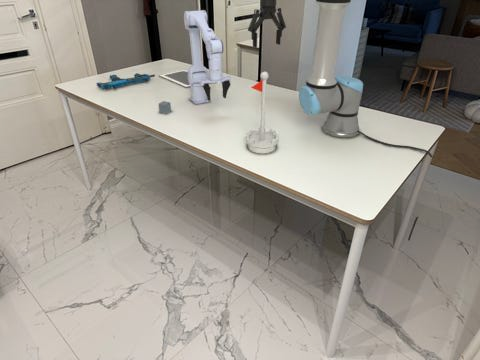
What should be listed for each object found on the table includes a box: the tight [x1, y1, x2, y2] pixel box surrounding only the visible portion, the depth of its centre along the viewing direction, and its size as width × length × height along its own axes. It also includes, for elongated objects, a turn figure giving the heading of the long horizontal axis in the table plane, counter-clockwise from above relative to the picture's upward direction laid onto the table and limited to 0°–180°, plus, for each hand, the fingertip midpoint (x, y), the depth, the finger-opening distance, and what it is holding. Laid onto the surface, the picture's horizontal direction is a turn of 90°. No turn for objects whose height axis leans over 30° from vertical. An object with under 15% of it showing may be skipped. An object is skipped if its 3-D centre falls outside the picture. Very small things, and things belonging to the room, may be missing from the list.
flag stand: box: [245, 71, 280, 154], centre depth 128 cm, size 13×13×30 cm
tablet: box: [158, 69, 191, 88], centre depth 216 cm, size 32×20×1 cm, turn 41°
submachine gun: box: [95, 72, 156, 91], centre depth 209 cm, size 34×4×25 cm
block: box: [158, 100, 172, 115], centre depth 167 cm, size 4×4×5 cm
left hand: (216, 98), depth 156 cm, fingers open, 7 cm apart
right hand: (266, 45), depth 167 cm, fingers open, 13 cm apart
